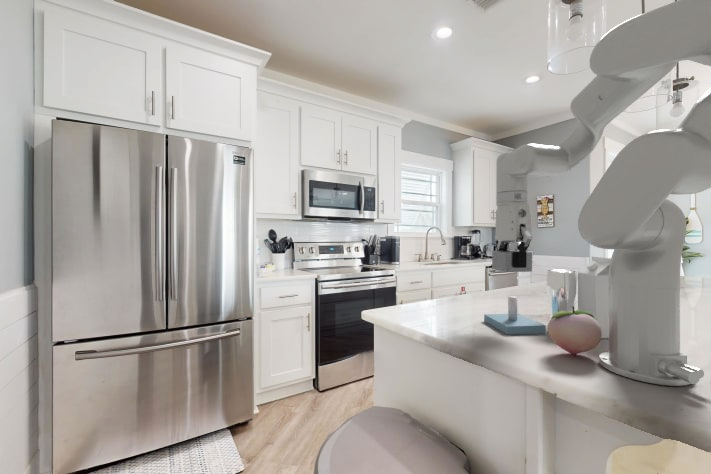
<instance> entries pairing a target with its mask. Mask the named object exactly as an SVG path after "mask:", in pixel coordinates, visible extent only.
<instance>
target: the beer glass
mask: <svg viewBox="0 0 711 474" xmlns="http://www.w3.org/2000/svg"><path fill="white" fill-rule="evenodd" d="M546 273H547V274H546V294H547V301H548V304H549V311H550V313H549V319H548V322H549V321H550V320H551V318H552V316H553V315H554V314H555V313H556V312H559V311H568V312H572V311H573V309H572V306H574V310H575V308H576V303H577V300H578V272H577V271H576V270H573V269H547V272H546Z"/></svg>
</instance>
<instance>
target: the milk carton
mask: <svg viewBox="0 0 711 474" xmlns="http://www.w3.org/2000/svg"><path fill="white" fill-rule="evenodd" d="M610 261H611V258H610V257H602V256H601V257H599V256H591V261H589V262H588V263H587V264H586V265H584V266H583V267H582V268H581V269H580V270H578V272H577V283H578V292H577V310H582V311H586V312H589V313H591V314H592V315H593V316H594V317H592V318H594V319H595V320H596V321H597V322H598V323H599V325H600V327H601V330H602V336H601V339H609V266H610ZM589 316H590V315H589Z"/></svg>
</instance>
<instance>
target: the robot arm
mask: <svg viewBox="0 0 711 474" xmlns="http://www.w3.org/2000/svg"><path fill="white" fill-rule="evenodd" d="M682 61H691V62H694V63H696V64H697V63H698V64H701V65H704V66H709V67H711V0H675V1H673V2H670V3H668V4H666V5H665V4H664V5H663V6H660V7H658V8H654V9H652V10H650V11H647V12H644V13H641V14H639V15H637V16H634V17H632V18H630V19H627V20H625V21H623V22H622V23H620V24H617V25H616V26H614V27H613V28H611V29H610V30H609V31H608V32H607V33H605V34H604V35H603V36H602V37H601V38H600V39H599V41H598V42H597V43H596V44H595V45H594V47H593V49H592V51H591V53H590V57H589V68H590V70H591V72H592V73H593V74H594V75H596V76H595V77H594V78H593V79H592V80H590V82H589V83H588V84H587V85H586V86H584V88H582V90H581V91H580V92H579V93H578V94H576V95H575V97H574V98H572V100H571V102H570V106H569V108H570V111H571V114H572V115H573V117H574V118H575V119H576V121H577V122H576V125H575V127H574V129H573V130H572V131H571V133H570V134H569V135H568V136H566V138H564V139H563V140H562V141H561V142H560V143H559V144H557V145H556V146H555V145H548V144H547V145H546V144H540V143H539V144H538V143H528V144H523V145H521V146H519V147H518V148H516V149H514V150H512V151H508V152H504V153H501V154H499V155H498V156H497V158H496V169H495V171H496V175H495V176H496V179H495V180H496V186H495V188H496V189H495V190H496V192H495V193H496V195H495V197H496V198H495V200H496V203H495V206H497V207H496V215H495V234H494V237H493V238H494V240H495V244H496V251H511V249H510V250H509V247H510V244H511V242H512V245H513V248H514V251H515V252H513V267H514V268H526V255H527V252H529V247H530V243H532V240H533V236H532V235H533V233H532V219H531V217H532V216H531V210H530V206H529V203H528V200H529V199H528V198H529V195H528V194H529V193H528V192H529V188H528V186H529V185H528V183H529V179H528V178H529V177H543V178H557V177H561V176H563V175H565V174H567V173H568V172H570V171H571V170H572V169H574V168H575V167H576V166H578V165H579V164H580V163H581V162H583V161H584V160H585V159H586V158H588V157H589V156H590V155H591V153H592V152H593V151H594V150H595V148H596V146H597V145H598V143H599V141H601V138H602V135H603V133H604V130H605V128H606V127H607V125H609V124H610V123H611V122H612V121H613V120H614V119H616V118H617V117H618V116H620V115H621V113H623V112H624V111H625V110H627V109H628V108H629V107H630V106H631V105H633V103H635V102H636V101H638V99H639V98H641V97H642V96H643V95H644V94H646V93H647V92H648V91H649V90H651V89H652V88H653V87H654V86H655V85H656V84H657V83H659V82H660V81H661V80H663V78H665V77H666V76H667V75H668V74H669V73H671V72H672V70H673V69H674V68H675V67H676V66H677V64H678V63H679V62H682ZM709 189H711V87H710V88H709V89H708V90H707V91H705V92H704V93H703V94H702V96H700V98H698V99H697V101H696V102H695V103H694V104H693V106H692V107H691V109H690V111H688V114H686V116H685V117H684V118H683V120H682V121H681V123H680V124H679V125H678V126H677V127H676V128H675V129H671V128H670V129H659V130H658V129H657V130H652V131H648V132H646V133H644V134H641V135H640V136H638V137H636V138H634V139H633V140H631V141H630V142H629V143H628V144H626V145H625V146H624V147H623V148H622V149H621V150H620V151H619V152H618V153H617V155H616V156H615V158H613V160H612V162H611V163H610V165H609V166H608V168H607V169H606V170H605V172H604V173H603V175H602V177H601V178H600V180H599V181H598V183H597V184H596V186H595V187H594V189H593V190H592V192H591V193H590V195H589V196H588V198H587V200H586V201H585V203H584V204H583V206H582V208H581V210H580V212H579V214H578V221H577V228H578V231H579V235H580V236H581V238H582V239H583V241H585V242H586V243H588V245H591V246H593V247H595V248H599V249H603V250H613V252H612V255H611V261H610V266H609V338H608V351H605V352H601V353H599V355H598V363H599V364H600V365H601V366H602V367H603V368H605V369H606V370H608V371H610V372H612V373H614V374H617V375H620V376H621V377H626V378H628V379H630V380H636V381H640V382H643V383H647V384H655V385H659V386H660V385H661V386H669V387H670V386H671V387H673V386H674V387H683V386H688V385H696V384H698V383H699V382H700V379H702V378H704V376H705V372H704V370H703V369H701V368H698V367H695V366H693V365H692V366H691V365H689V364H688V354H684V353H682V352H681V266H682V265H681V263H682V254H683V248H684V244H685V239H686V235H687V220H686V215H685V214H684V212H683V211H682V209H681V208H680V207H679V206H678V205H677V204H676V203H675V202H673V201H671V200H669V199H668V197H669V196H670V195H680V196H681V195H693V194H698V193H702V192H705V191H707V190H709Z"/></svg>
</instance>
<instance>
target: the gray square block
mask: <svg viewBox="0 0 711 474" xmlns="http://www.w3.org/2000/svg"><path fill="white" fill-rule="evenodd" d="M513 252H515V250H510V251H498V250H491V253H492V255H491V256H492V257H491V260H492V261H491V263H492V264H491V266H492V267H491V269H493V270H495V271H500V272H504V273H512V272H513V273H517V272H518V273H519V272H521V273H526V272H528V273H529V272H530V273H532V272H533V252H532V251H531V252H530V251H528V252H527V255H526V268H514V267H513Z"/></svg>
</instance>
